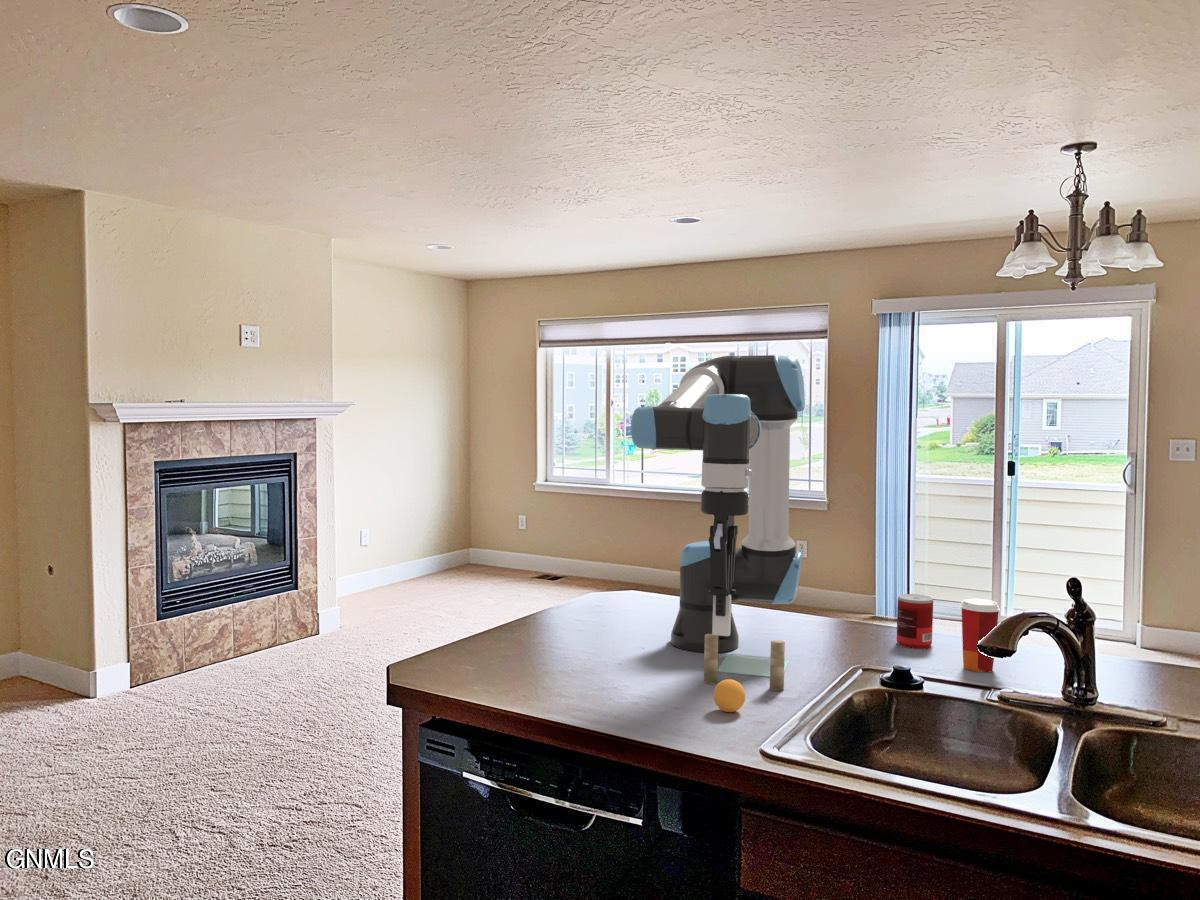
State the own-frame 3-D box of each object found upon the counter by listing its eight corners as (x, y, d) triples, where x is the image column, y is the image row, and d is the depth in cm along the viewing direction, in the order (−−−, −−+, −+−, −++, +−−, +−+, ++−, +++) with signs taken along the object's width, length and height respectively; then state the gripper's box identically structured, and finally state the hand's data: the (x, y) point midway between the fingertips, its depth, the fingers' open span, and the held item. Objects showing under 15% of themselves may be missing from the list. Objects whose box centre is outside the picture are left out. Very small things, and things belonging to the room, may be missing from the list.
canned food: (931, 642, 205) (932, 595, 205) (932, 650, 198) (933, 601, 197) (896, 639, 208) (897, 592, 207) (896, 647, 200) (897, 599, 200)
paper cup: (998, 666, 186) (1000, 600, 185) (997, 675, 179) (1000, 607, 178) (958, 661, 189) (960, 596, 188) (956, 670, 182) (958, 603, 181)
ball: (710, 714, 152) (711, 682, 152) (716, 704, 157) (716, 673, 157) (742, 718, 150) (743, 686, 150) (747, 708, 155) (748, 677, 155)
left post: (702, 682, 170) (703, 636, 169) (705, 679, 172) (706, 633, 172) (715, 684, 169) (717, 637, 169) (718, 680, 171) (719, 634, 171)
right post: (768, 690, 166) (770, 642, 166) (770, 686, 168) (771, 639, 168) (782, 691, 165) (784, 644, 165) (784, 687, 168) (785, 640, 167)
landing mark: (716, 671, 178) (716, 670, 178) (727, 655, 190) (727, 654, 190) (782, 678, 174) (782, 677, 174) (789, 661, 186) (789, 660, 186)
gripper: (741, 493, 136) (737, 646, 136) (754, 488, 148) (750, 628, 149) (693, 491, 138) (690, 641, 139) (709, 486, 150) (706, 624, 151)
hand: (721, 634), depth 144 cm, fingers closed
